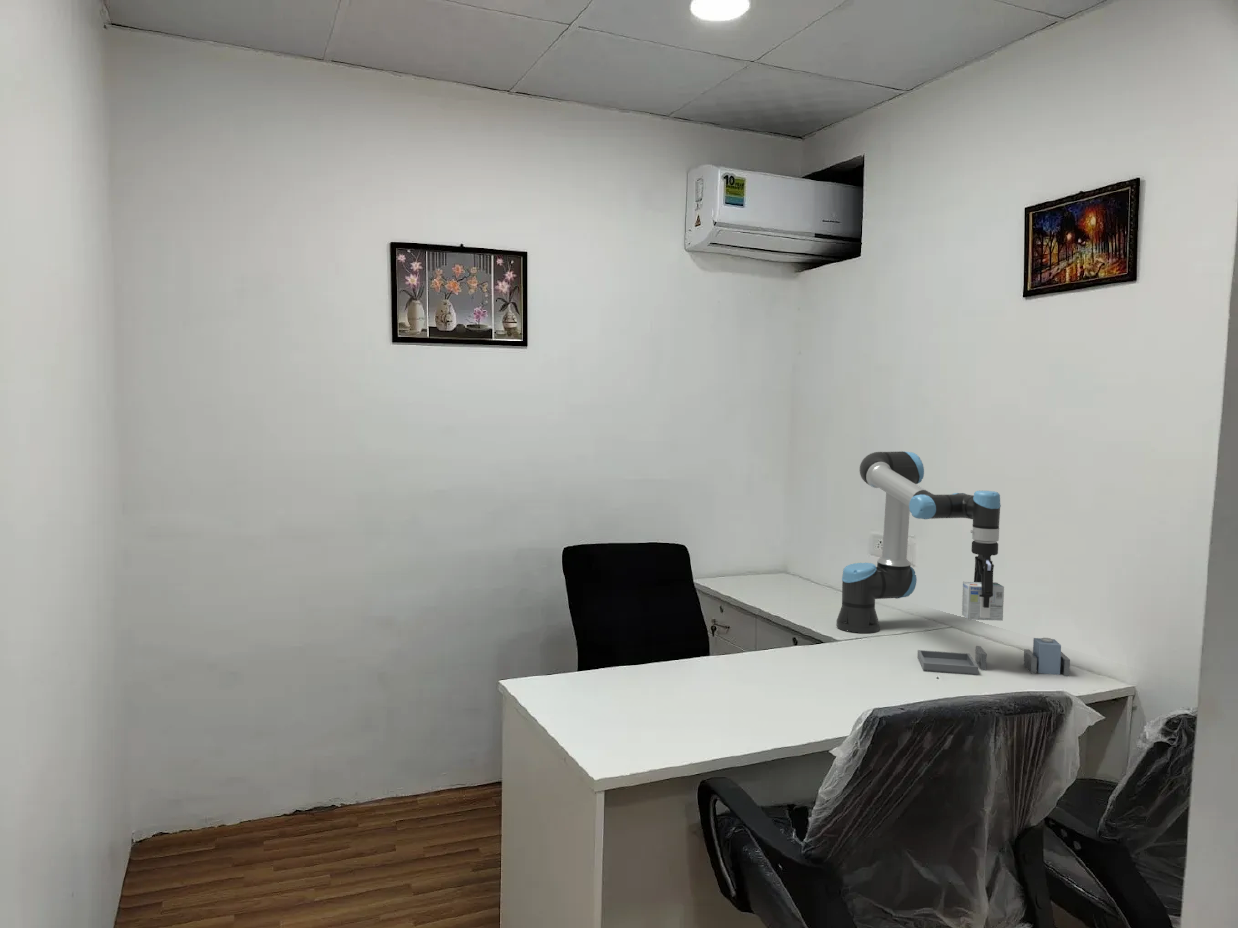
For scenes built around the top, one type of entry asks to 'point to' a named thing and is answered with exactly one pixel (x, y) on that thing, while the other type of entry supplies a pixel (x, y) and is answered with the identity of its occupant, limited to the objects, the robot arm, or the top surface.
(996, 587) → the light bulb box
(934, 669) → the tray
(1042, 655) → the cartridge
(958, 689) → the top surface
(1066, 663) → the rack
